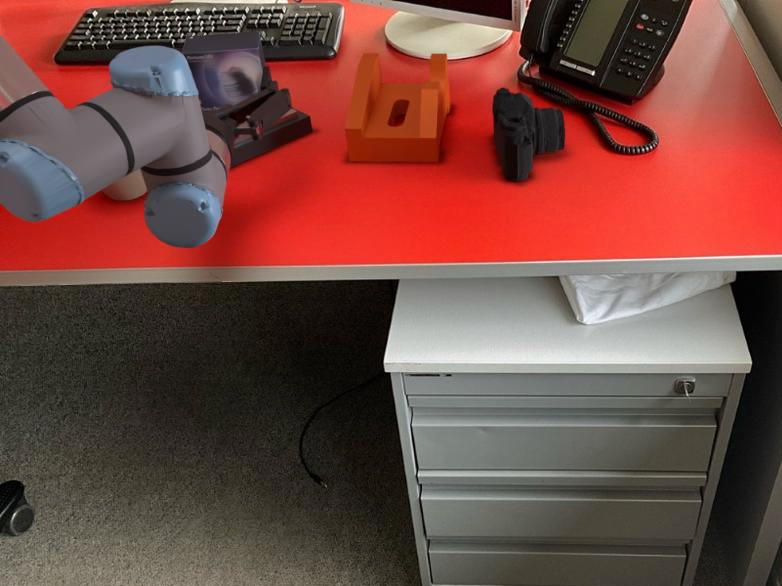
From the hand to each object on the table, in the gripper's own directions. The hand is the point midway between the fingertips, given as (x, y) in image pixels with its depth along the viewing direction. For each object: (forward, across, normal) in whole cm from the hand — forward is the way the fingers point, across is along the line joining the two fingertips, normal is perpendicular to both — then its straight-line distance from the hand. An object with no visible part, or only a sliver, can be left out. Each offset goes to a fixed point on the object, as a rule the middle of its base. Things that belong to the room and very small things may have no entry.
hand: (217, 79), depth 120 cm
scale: (+8, 0, -12) cm, 14 cm away
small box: (+8, 0, -8) cm, 12 cm away
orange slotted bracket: (+4, +24, -12) cm, 27 cm away
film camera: (-6, +42, -12) cm, 44 cm away
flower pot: (-7, -14, -12) cm, 20 cm away
